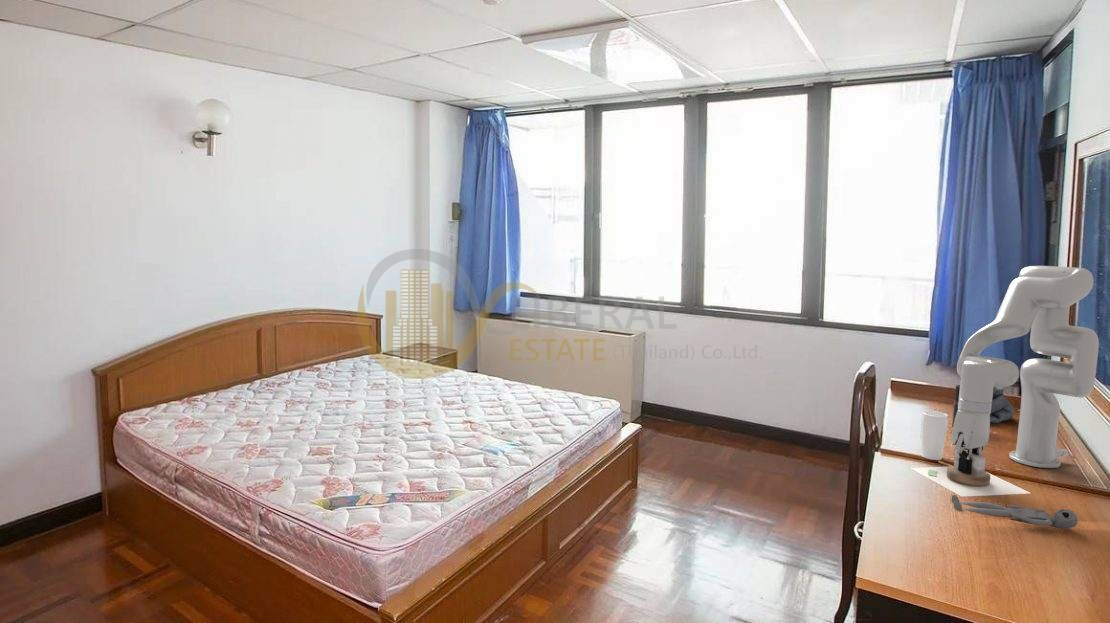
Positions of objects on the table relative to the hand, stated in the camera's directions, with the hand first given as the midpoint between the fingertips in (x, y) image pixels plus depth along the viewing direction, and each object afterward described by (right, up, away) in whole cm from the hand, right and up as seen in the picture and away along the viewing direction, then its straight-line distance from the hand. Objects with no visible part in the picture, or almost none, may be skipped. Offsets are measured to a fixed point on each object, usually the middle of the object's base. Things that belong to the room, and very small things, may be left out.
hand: (968, 470), depth 176 cm
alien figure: (-3, -7, -21) cm, 22 cm away
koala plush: (+49, +3, +66) cm, 82 cm away
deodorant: (+32, +2, +53) cm, 61 cm away
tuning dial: (-1, -2, +2) cm, 3 cm away
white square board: (0, -4, 0) cm, 4 cm away
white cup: (+1, -2, +19) cm, 19 cm away
